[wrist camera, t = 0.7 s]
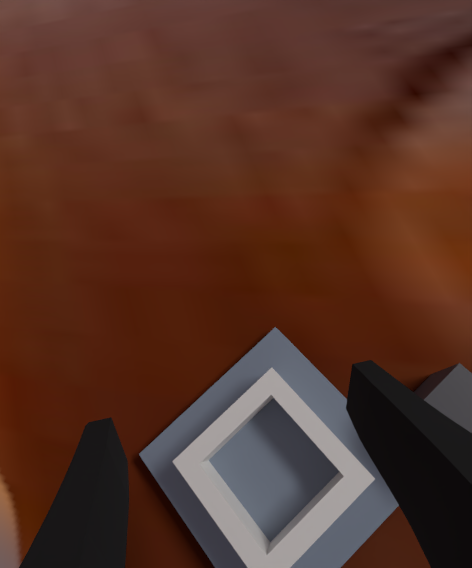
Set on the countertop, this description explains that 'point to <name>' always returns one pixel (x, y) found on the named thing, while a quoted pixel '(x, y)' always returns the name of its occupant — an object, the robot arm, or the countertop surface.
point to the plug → (450, 394)
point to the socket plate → (271, 466)
